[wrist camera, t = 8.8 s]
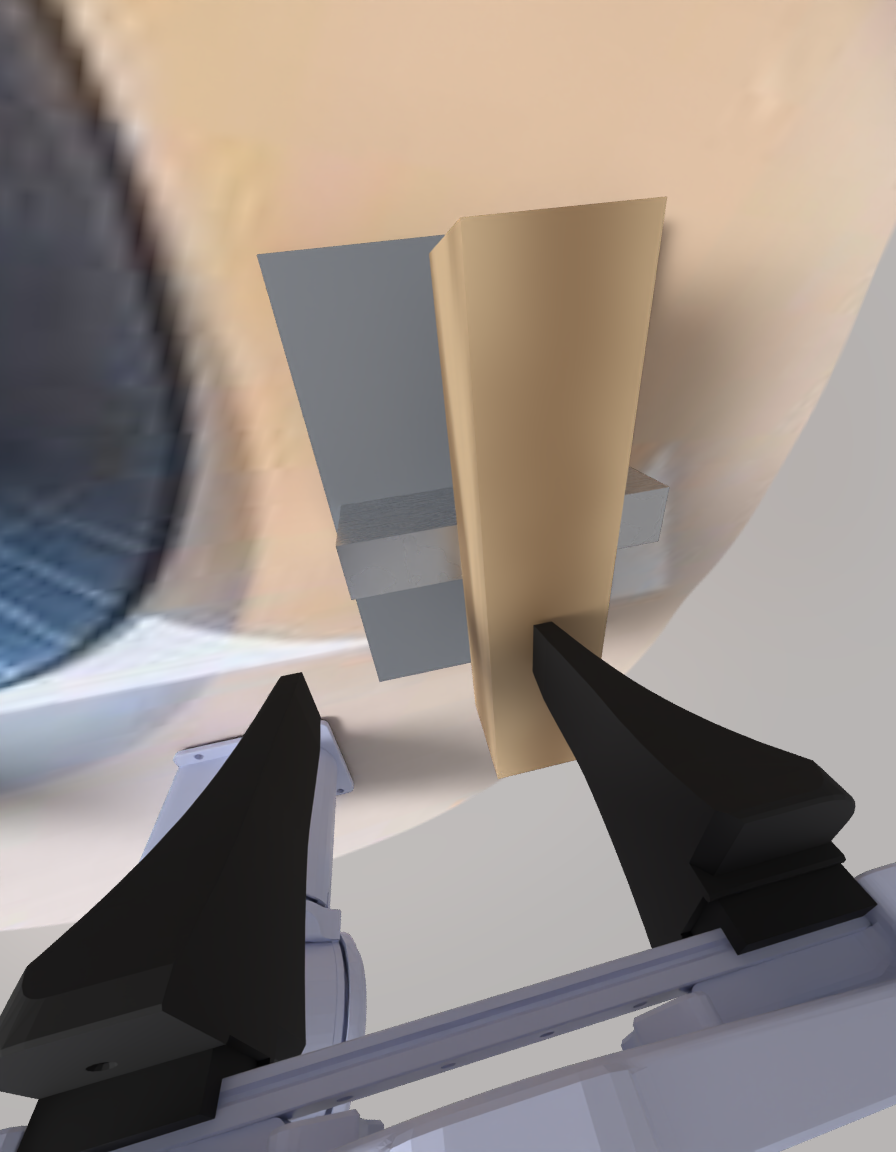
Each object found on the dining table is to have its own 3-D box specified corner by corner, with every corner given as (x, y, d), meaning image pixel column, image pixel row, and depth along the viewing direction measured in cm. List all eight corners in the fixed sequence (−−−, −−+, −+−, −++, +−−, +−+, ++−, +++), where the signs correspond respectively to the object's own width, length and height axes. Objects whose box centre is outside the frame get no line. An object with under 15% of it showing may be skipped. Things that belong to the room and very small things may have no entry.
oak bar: (475, 704, 20) (498, 778, 17) (429, 253, 10) (460, 217, 7) (550, 687, 21) (587, 757, 17) (572, 237, 11) (666, 196, 7)
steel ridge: (353, 552, 19) (351, 599, 16) (340, 505, 18) (336, 546, 14) (609, 506, 20) (658, 541, 17) (615, 459, 19) (669, 486, 16)
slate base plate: (379, 669, 24) (379, 681, 24) (263, 259, 14) (256, 254, 13) (592, 624, 26) (600, 634, 25) (641, 218, 15) (657, 212, 14)
